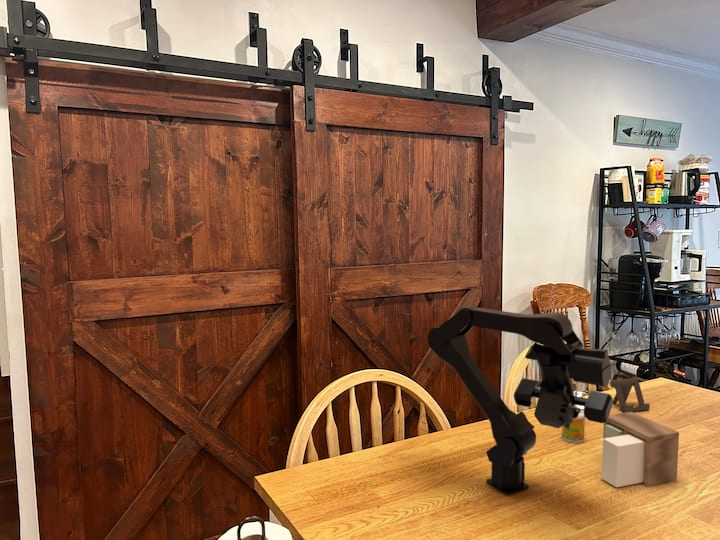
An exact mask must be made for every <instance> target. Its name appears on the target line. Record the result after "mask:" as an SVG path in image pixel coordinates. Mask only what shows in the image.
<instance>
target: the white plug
mask: <svg viewBox="0 0 720 540" xmlns="http://www.w3.org/2000/svg"><path fill="white" fill-rule="evenodd" d="M645 449H646V440H645V439H643V438H641V437H639V436H637V435H634V434H629V435H622V436H616V437H610V438H604V439H603V438H602V455H601V456H602V458H601V459H602V460H601V461H602V462H601V463H602V464H601V479H602V480H603V481H605V482H607V483H609V484H610V485H611V486H613V487H615V488H620V487H621V488H622V487H625V486H630V485H636V484H641V483H644V472H645Z"/></svg>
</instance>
